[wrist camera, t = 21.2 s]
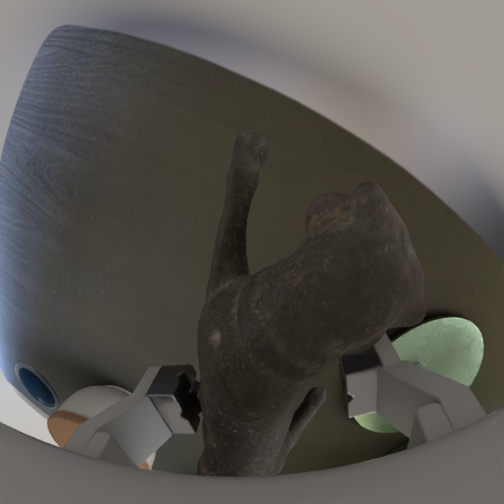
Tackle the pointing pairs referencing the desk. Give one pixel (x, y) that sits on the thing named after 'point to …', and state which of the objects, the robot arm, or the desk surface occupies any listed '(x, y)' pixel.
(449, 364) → the tin lid
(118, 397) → the lidded bowl
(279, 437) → the dog figurine
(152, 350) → the desk surface
